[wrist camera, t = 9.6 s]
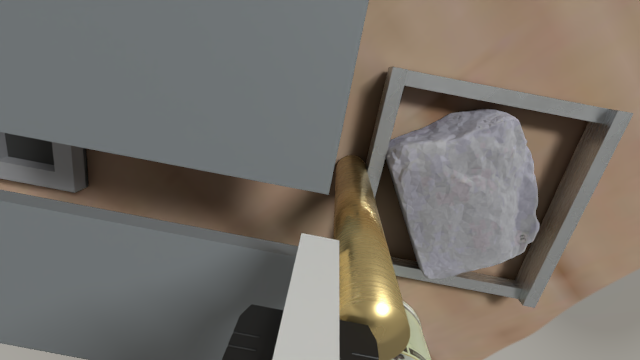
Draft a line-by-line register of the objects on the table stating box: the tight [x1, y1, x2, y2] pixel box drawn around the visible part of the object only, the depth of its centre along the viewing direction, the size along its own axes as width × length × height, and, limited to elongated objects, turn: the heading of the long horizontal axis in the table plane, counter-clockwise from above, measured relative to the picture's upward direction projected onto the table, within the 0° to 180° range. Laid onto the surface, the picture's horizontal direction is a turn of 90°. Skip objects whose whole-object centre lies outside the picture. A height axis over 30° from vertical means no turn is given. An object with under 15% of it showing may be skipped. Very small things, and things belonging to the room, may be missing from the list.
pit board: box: [0, 132, 88, 193], centre depth 25 cm, size 12×8×2 cm, turn 170°
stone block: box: [385, 109, 539, 279], centre depth 24 cm, size 12×5×10 cm
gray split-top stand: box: [0, 0, 369, 360], centre depth 20 cm, size 23×18×11 cm
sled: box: [334, 67, 633, 360], centre depth 17 cm, size 16×18×17 cm
